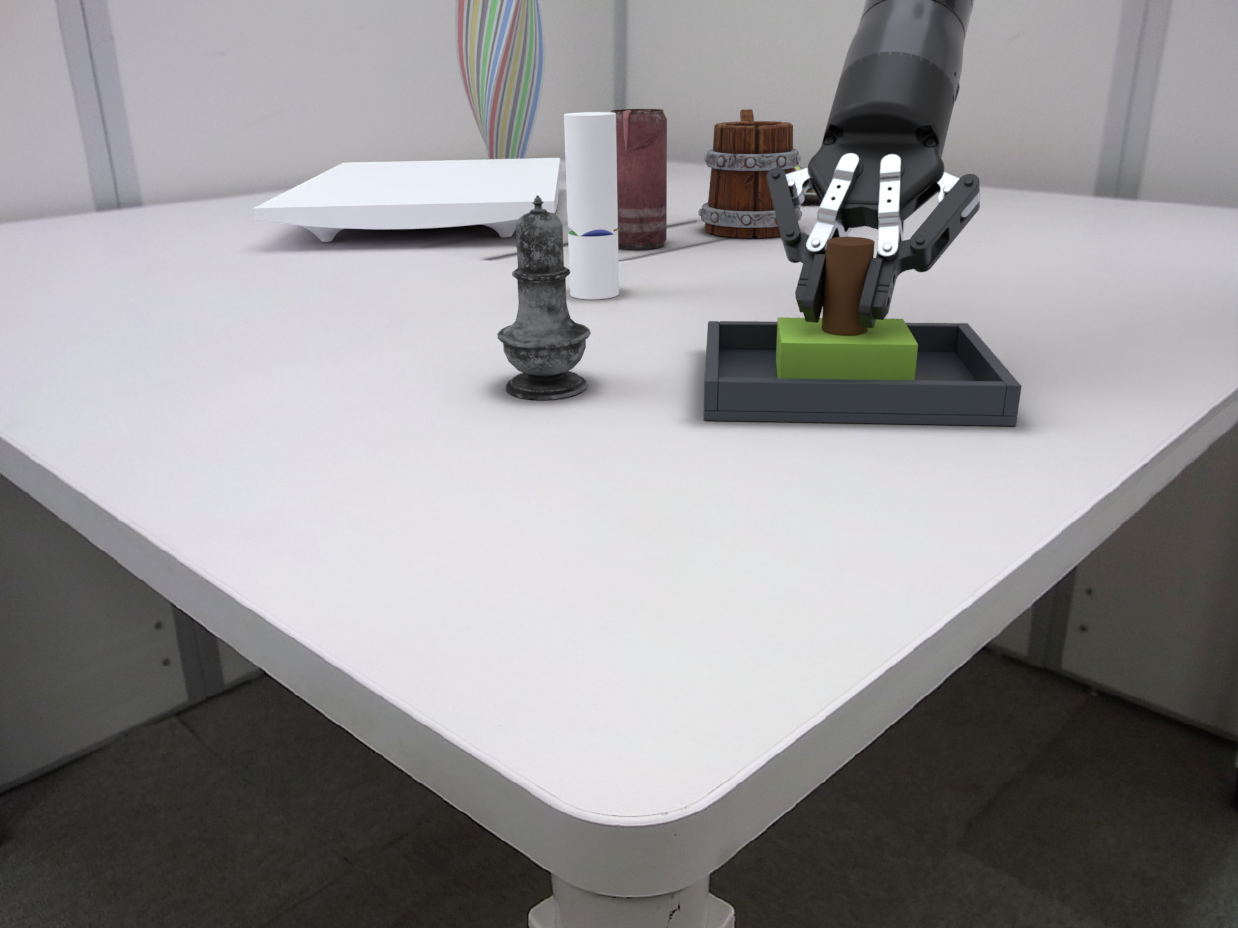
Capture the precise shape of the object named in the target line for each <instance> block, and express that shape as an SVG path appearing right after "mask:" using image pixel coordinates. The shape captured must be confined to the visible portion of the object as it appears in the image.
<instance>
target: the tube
mask: <svg viewBox="0 0 1238 928" xmlns="http://www.w3.org/2000/svg"><path fill="white" fill-rule="evenodd" d="M563 126H564V127H563V128H564V129H563V130H564V131H563V133H564V155H565V156H564V157H565V158H564V159H565V184H566V185H565V187H566V188H565V189H566V212H567V213H566V216H567V227H568V228H569V229H570V230H569V231H567V232H568V233H567V238H568V239H567V240H568V241H567V242H568V243H567V244H568V269H569V270H570V274H569V292H570V293H569V295H570V296H571V297H572V298H574V299H581V300H607V299H611V298H615V297H617V296H619V294H620V279H619V277H620V276H619V275H620V274H619V273H620V271H619V270H620V269H619V248H618V229H617V228H618V208H617V151H616V113H611V111H610V112H609V111H585V112H583V111H582V112H581V111H580V112H568V113H564V114H563Z"/></svg>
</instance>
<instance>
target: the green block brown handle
mask: <svg viewBox="0 0 1238 928" xmlns="http://www.w3.org/2000/svg"><path fill="white" fill-rule="evenodd" d="M875 243H876V242H875V241H874V240H873V239H871V238H867V237H860V236H848V237H836V238H831V239H828V240H827V248H826V265H825V281H824V298H823V307H822V313H821V315H822V317H820V319H819V322H818V323H813V322H806V321H805V317H784V316H783V317H777V322H778V324H777V347H776V366H777V376H778V378H785V379H856V380H915V370H916V360H917V350H918V344H917V342H916V340H915V339H914V337H913V335H912V333H911V332H910V330H909V328H908V327H907V325H906V323H907V322H906V321H905V320H904V318H884V319H883V320H877V319H876V322H875V326H874V328H865V327H861V324H860V319H859V314H858V311H859V304H860V300H861V296H862V292H863V288H864V284H865V280H866V276H867V272H868V268H869V264H870V260H871V258H875V257H874V255H875Z"/></svg>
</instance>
